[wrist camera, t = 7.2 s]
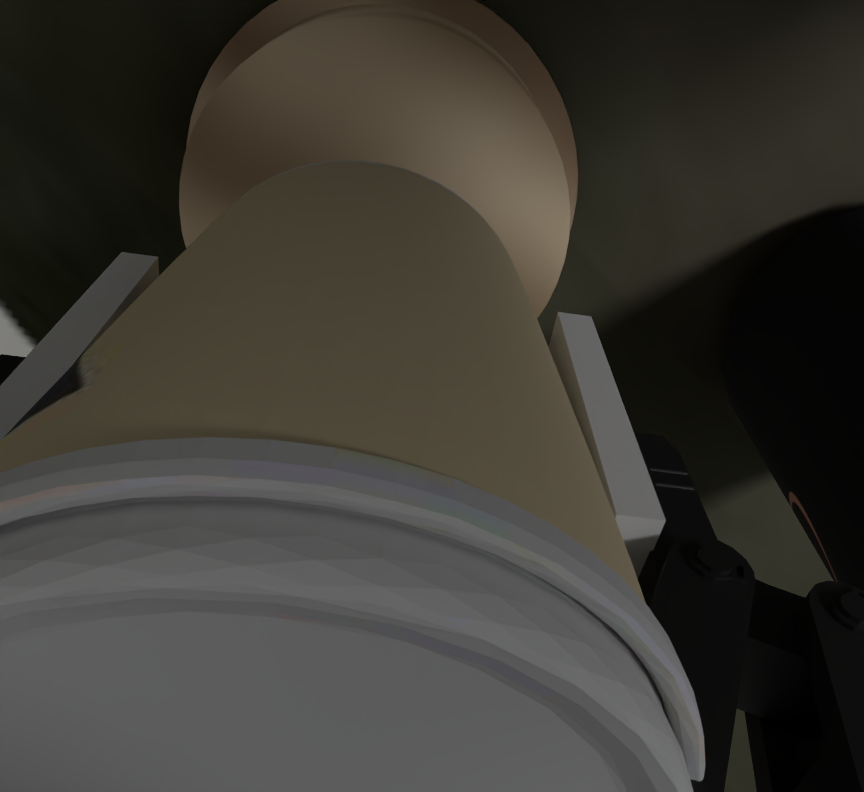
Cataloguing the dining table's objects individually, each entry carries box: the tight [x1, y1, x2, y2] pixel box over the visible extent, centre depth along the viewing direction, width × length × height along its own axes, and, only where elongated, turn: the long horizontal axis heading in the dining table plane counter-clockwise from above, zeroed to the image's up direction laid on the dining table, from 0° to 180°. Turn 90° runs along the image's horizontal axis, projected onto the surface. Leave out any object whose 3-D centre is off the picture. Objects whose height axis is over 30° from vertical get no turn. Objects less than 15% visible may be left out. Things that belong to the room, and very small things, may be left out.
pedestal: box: [179, 0, 578, 318], centre depth 24 cm, size 13×13×4 cm
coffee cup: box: [0, 160, 705, 792], centre depth 13 cm, size 9×9×12 cm
